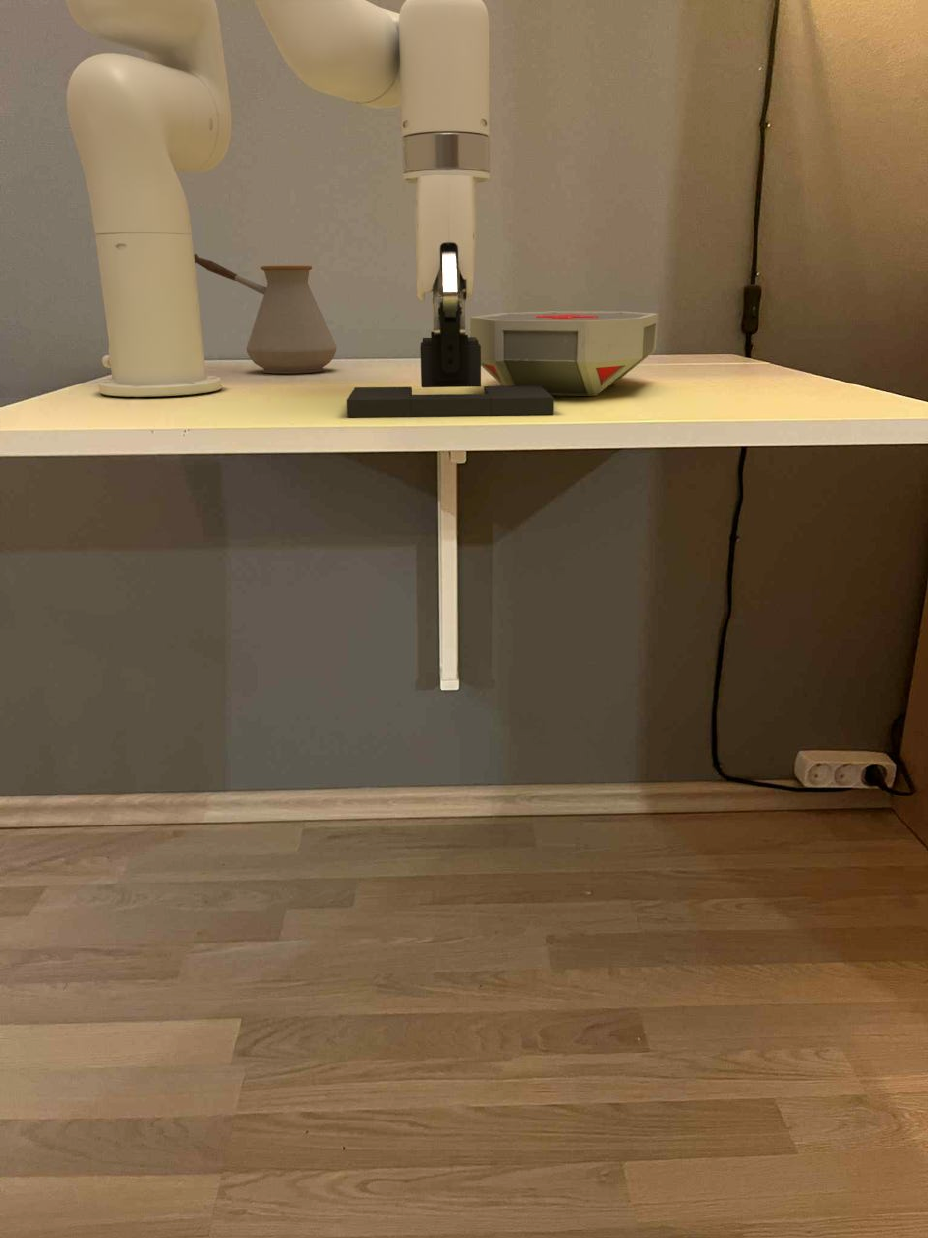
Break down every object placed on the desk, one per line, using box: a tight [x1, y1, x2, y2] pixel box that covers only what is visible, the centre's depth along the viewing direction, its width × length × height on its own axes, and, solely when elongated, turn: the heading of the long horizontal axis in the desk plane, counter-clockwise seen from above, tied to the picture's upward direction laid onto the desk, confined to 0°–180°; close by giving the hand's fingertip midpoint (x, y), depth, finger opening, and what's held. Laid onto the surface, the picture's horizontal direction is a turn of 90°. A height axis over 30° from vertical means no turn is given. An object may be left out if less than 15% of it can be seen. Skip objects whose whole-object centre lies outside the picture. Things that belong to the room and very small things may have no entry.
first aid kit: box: [469, 310, 659, 397], centre depth 101 cm, size 18×8×25 cm
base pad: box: [346, 385, 555, 418], centre depth 87 cm, size 18×10×2 cm, turn 92°
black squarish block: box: [419, 336, 482, 388], centre depth 88 cm, size 5×5×4 cm
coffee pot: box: [194, 253, 338, 375], centre depth 122 cm, size 21×12×15 cm, turn 74°
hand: (449, 375), depth 88 cm, fingers closed on black squarish block, 5 cm apart
